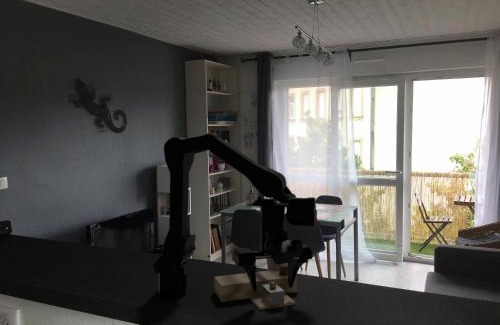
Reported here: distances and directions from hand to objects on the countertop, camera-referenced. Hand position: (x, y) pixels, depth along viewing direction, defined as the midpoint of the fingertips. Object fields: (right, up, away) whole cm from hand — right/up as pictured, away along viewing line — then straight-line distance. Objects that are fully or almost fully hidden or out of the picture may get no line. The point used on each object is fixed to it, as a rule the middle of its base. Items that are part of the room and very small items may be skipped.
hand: (272, 289), depth 98 cm
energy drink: (+2, -2, +21) cm, 21 cm away
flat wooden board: (0, -3, 0) cm, 3 cm away
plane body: (-4, -3, +7) cm, 9 cm away
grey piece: (0, -3, 0) cm, 3 cm away
